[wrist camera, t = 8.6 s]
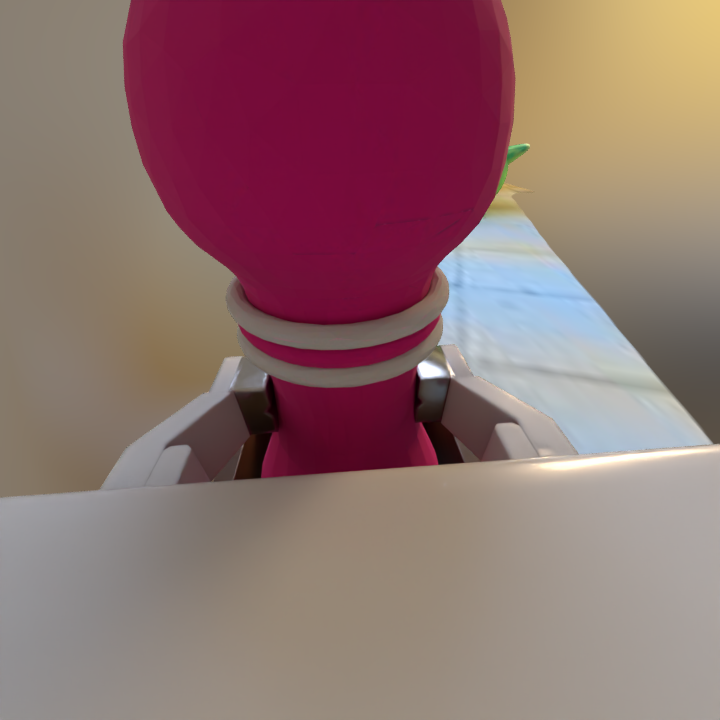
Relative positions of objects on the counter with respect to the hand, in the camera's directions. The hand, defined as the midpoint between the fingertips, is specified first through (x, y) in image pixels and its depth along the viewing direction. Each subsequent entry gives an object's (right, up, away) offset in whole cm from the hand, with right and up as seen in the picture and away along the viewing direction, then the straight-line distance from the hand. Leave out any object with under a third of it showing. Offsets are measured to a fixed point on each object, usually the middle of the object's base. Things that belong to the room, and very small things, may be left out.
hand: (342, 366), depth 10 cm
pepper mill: (0, -9, +6) cm, 10 cm away
